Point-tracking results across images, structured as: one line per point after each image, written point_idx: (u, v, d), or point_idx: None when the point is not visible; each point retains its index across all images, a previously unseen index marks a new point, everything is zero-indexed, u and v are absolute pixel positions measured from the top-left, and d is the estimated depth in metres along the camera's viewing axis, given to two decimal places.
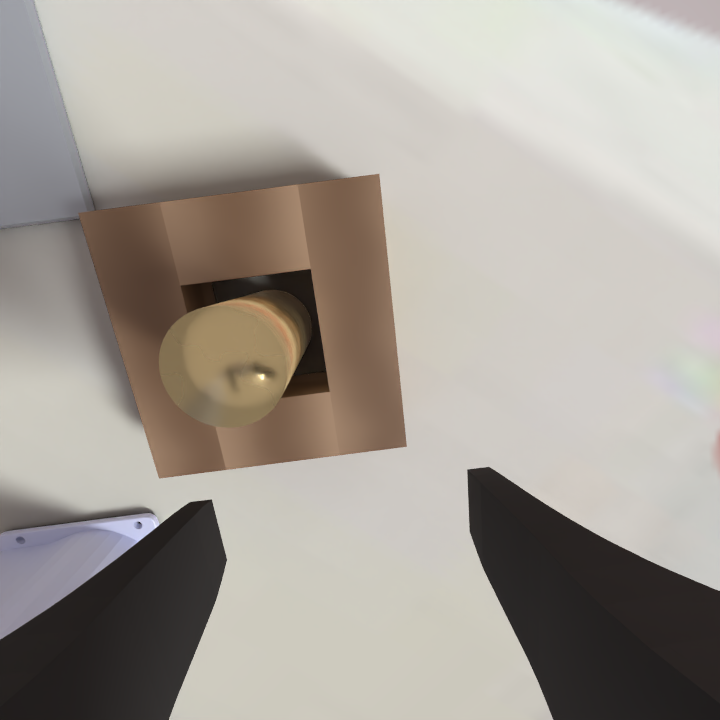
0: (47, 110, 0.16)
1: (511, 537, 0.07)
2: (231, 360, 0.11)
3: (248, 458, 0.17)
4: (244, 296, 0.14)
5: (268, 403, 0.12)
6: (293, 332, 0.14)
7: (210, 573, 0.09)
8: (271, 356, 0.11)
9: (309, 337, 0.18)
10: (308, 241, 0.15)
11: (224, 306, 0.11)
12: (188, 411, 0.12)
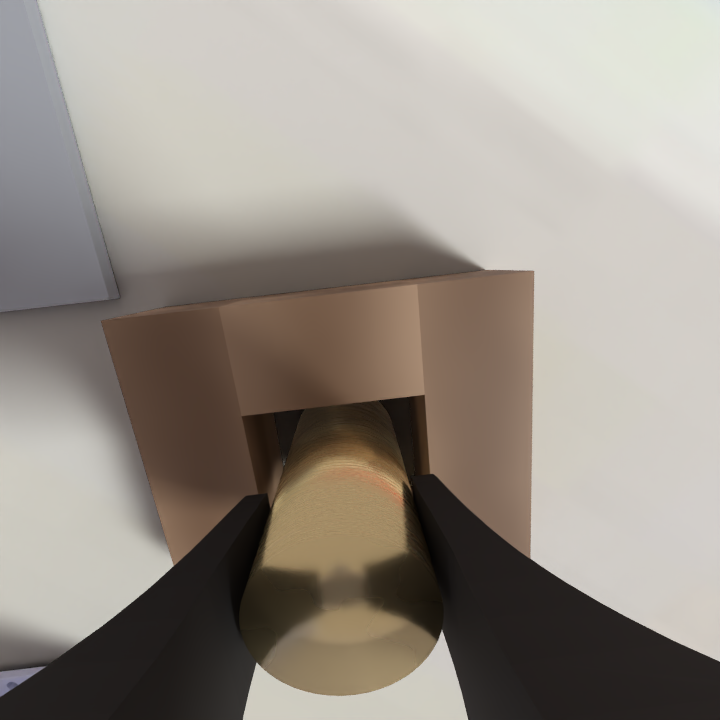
0: (57, 163, 0.11)
1: (437, 546, 0.07)
2: (355, 608, 0.07)
3: None
4: (335, 438, 0.10)
5: (407, 663, 0.07)
6: (415, 506, 0.09)
7: None
8: (421, 602, 0.07)
9: None
10: (425, 359, 0.10)
11: (352, 532, 0.07)
12: (279, 675, 0.07)
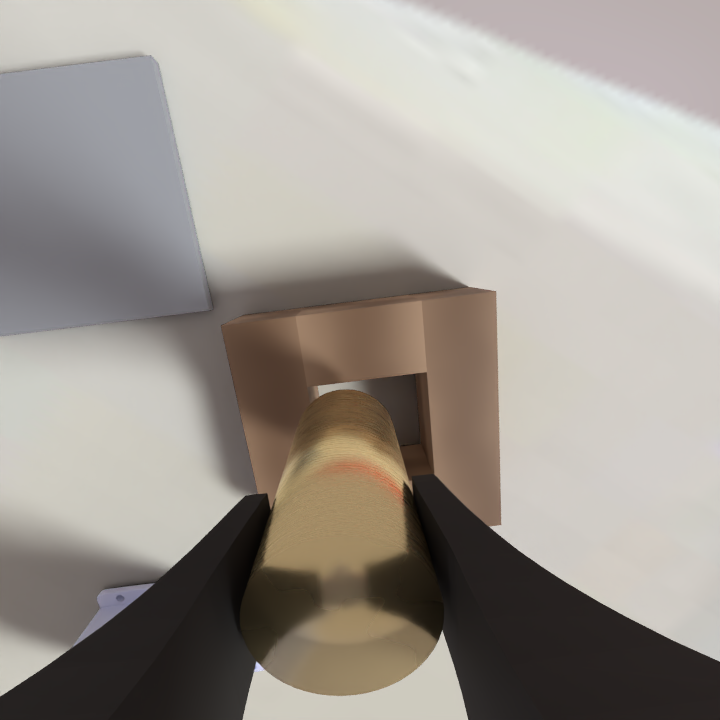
0: (179, 220, 0.17)
1: (437, 546, 0.07)
2: (356, 609, 0.07)
3: None
4: (336, 439, 0.10)
5: (407, 663, 0.07)
6: None
7: None
8: (421, 602, 0.07)
9: None
10: (427, 348, 0.16)
11: (352, 532, 0.07)
12: (280, 676, 0.07)
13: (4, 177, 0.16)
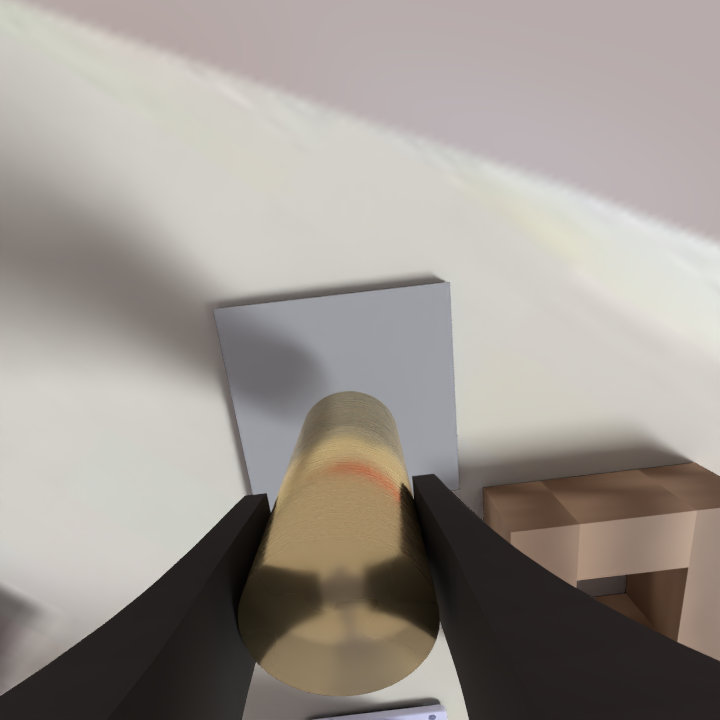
0: (448, 415, 0.18)
1: (438, 546, 0.07)
2: (351, 610, 0.07)
3: None
4: (332, 441, 0.10)
5: (407, 662, 0.07)
6: (413, 505, 0.09)
7: None
8: (415, 602, 0.07)
9: None
10: (693, 548, 0.17)
11: (340, 535, 0.07)
12: (283, 677, 0.07)
13: (295, 382, 0.17)
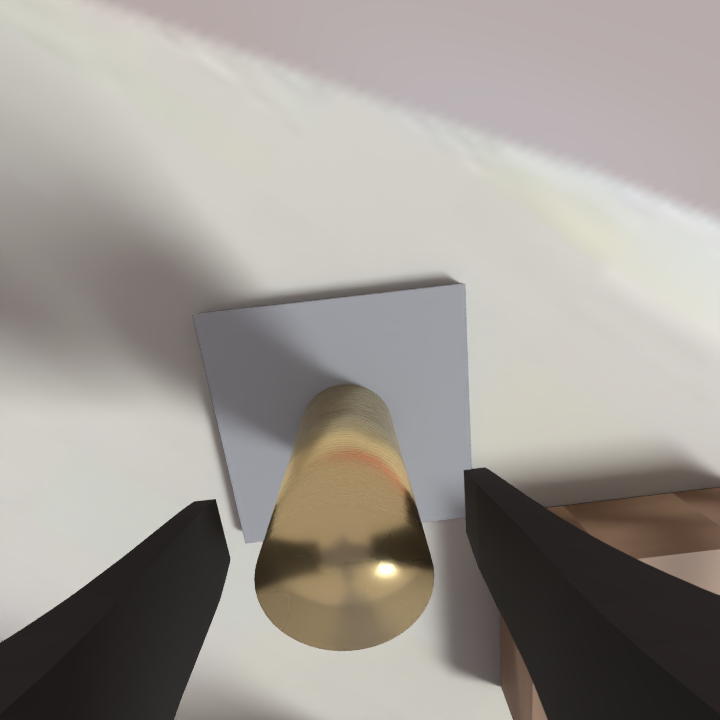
0: (461, 435, 0.16)
1: (506, 538, 0.07)
2: (355, 570, 0.08)
3: None
4: (333, 427, 0.11)
5: (406, 618, 0.08)
6: (409, 482, 0.10)
7: (214, 573, 0.09)
8: (412, 561, 0.08)
9: None
10: None
11: (346, 502, 0.08)
12: (295, 634, 0.08)
13: (288, 398, 0.15)
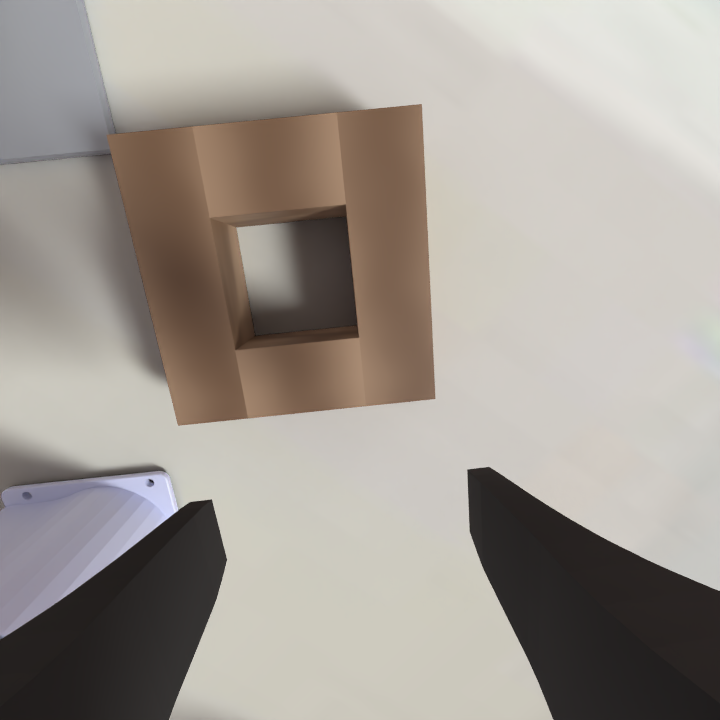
0: (74, 34, 0.15)
1: (511, 537, 0.07)
2: None
3: (271, 406, 0.16)
4: None
5: None
6: None
7: (210, 573, 0.09)
8: None
9: None
10: (345, 174, 0.14)
11: None
12: None
13: None
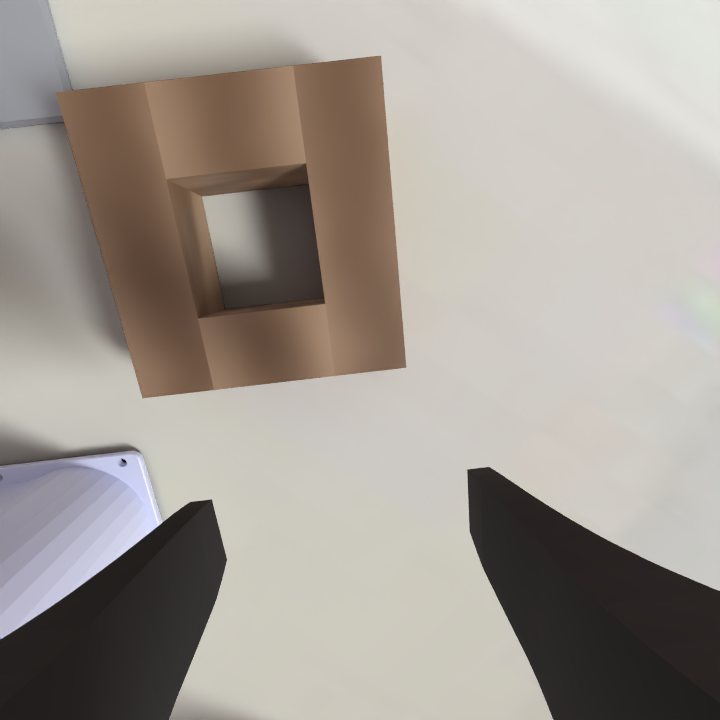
0: None
1: (511, 537, 0.07)
2: None
3: (237, 377, 0.16)
4: None
5: None
6: None
7: (210, 573, 0.09)
8: None
9: None
10: (304, 131, 0.14)
11: None
12: None
13: None
